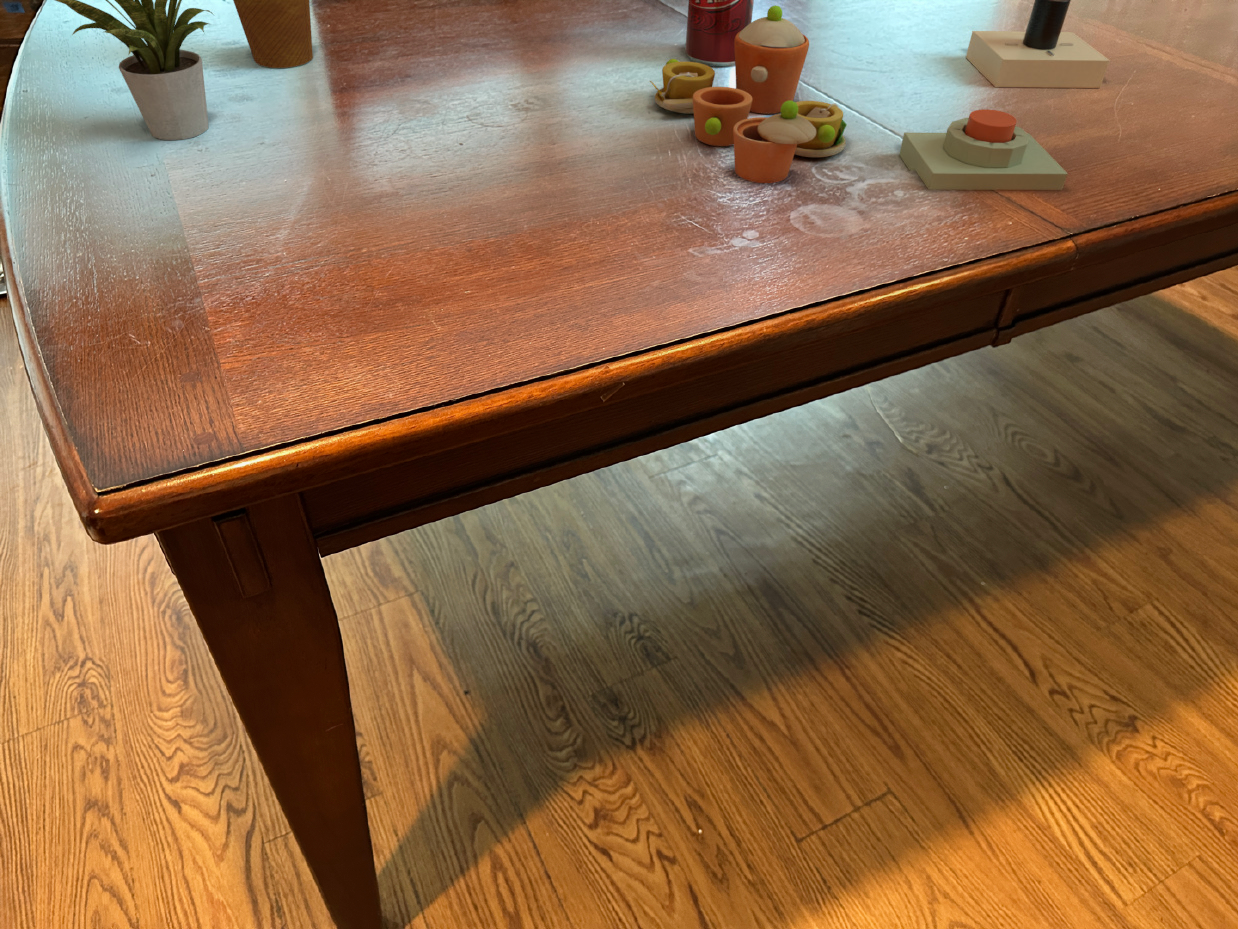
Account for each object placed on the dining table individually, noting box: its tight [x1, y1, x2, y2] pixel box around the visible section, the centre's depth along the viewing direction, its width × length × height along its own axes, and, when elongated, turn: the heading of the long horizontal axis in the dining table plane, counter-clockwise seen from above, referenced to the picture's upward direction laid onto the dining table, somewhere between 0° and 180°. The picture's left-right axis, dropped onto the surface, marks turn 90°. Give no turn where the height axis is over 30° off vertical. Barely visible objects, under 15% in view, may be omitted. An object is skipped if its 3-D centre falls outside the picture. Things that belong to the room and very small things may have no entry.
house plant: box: [54, 0, 214, 141], centre depth 84 cm, size 14×14×16 cm
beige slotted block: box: [965, 30, 1111, 89], centre depth 106 cm, size 12×10×3 cm
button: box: [965, 108, 1018, 143], centre depth 82 cm, size 4×4×2 cm
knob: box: [1023, 0, 1072, 50], centre depth 104 cm, size 4×4×5 cm
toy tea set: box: [649, 5, 848, 184], centre depth 88 cm, size 26×16×10 cm, turn 17°
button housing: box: [898, 117, 1068, 191], centre depth 84 cm, size 12×9×4 cm
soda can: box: [684, 0, 755, 67], centre depth 104 cm, size 7×7×12 cm
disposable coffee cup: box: [232, 0, 314, 69], centre depth 100 cm, size 10×10×12 cm
